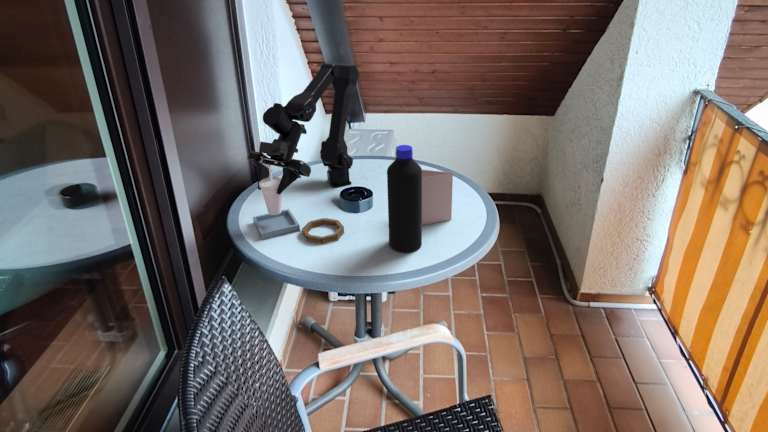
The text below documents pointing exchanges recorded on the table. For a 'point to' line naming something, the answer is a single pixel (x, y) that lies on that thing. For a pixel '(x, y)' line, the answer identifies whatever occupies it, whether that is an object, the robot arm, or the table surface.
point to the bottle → (404, 201)
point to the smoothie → (271, 193)
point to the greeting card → (436, 196)
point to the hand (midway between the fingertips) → (268, 191)
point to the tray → (276, 224)
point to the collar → (325, 238)
